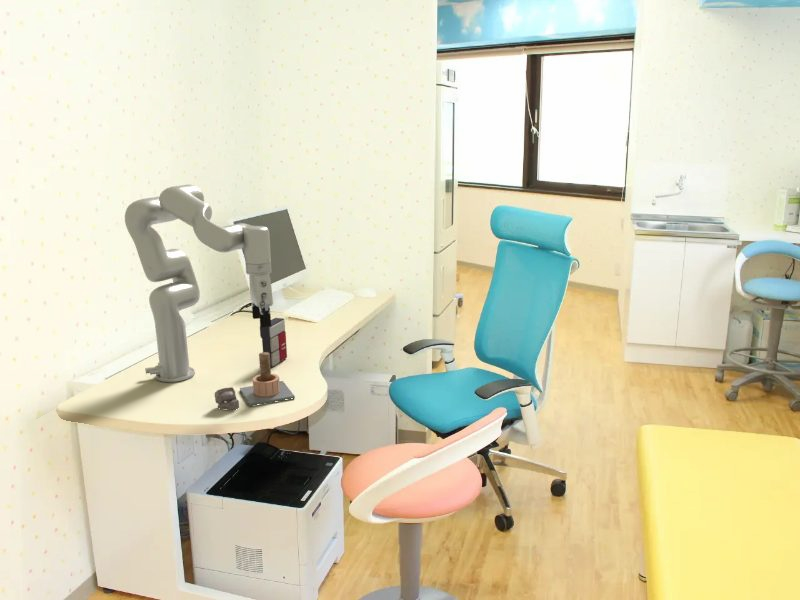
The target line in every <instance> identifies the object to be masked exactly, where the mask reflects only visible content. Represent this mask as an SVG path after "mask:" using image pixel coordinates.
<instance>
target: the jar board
mask: <svg viewBox="0 0 800 600" xmlns="http://www.w3.org/2000/svg"><path fill="white" fill-rule="evenodd" d="M239 391H241V392H240V393H241V394H243V395H242V396H244V397H243V398H244V400H245V399H246V400H245V402H246V403H247V402H248V403H247V405H248V404H249V405H248V406H249V407H250V406H252V407H254V406H253V405H257V404H263V405H265V404H264V403H269V404H271V403H270V402H274V403H276V402H275V401H280V402H282V401H281V400H285V399H291V398H295V399H296V396H295V394H294V393H293V392H292V391H291V390H290V388H289V387H288V386H287V384H286V383H285V382H284V380H280V376H279V375H278V374H275V373H271V381H267V382H261V376H260V374H258V375H257V374H256V375H255V376H254V377H253V378H252V385H250V386H243V387H240V388H239ZM291 400H292V399H291ZM257 406H258V405H257Z"/></svg>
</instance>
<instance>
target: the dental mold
mask: <svg viewBox="0 0 800 600" xmlns="http://www.w3.org/2000/svg"><path fill="white" fill-rule="evenodd" d="M214 399H215V400H214V401H215V403H216V404H218V405H217V407H218V408H220V410H219V411H222V410H221V409H227V410H226V411H233V410H236V409H237V410H238V408H239V409H240V400H238V399H237V396H236V391H235V389H234V387H233V386H232V387H223V388H220V389H217V390H216V391H215V392H214ZM218 408H217V409H218ZM237 410H236V411H237Z"/></svg>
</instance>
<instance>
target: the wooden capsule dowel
mask: <svg viewBox="0 0 800 600" xmlns="http://www.w3.org/2000/svg"><path fill="white" fill-rule="evenodd" d="M258 356H259V357H258V360H259V372H260V373H259V375H260V376H261V382H267V381H271V374H272V371H271V369H272V368H270V353H268V352H263V351H262V352H260V353H258Z"/></svg>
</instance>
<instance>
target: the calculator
mask: <svg viewBox="0 0 800 600" xmlns="http://www.w3.org/2000/svg"><path fill="white" fill-rule="evenodd" d="M285 323H286V321H285V318H282V317H281V318H280V317H274V318H271V326H270V327H260V326H259V334H260V338H261V339H262V340H261V342H262V343H261V345H262V346H261V347H262V352H268V353H270V369H272V368H273V367H275V366H276V365H278V364H279V363H281V362H282V361H284V360H285V358H286V359H287V358H288V352H287V351H288V349H287V334H286V333H287V332H286V324H285ZM271 367H272V368H271Z"/></svg>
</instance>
